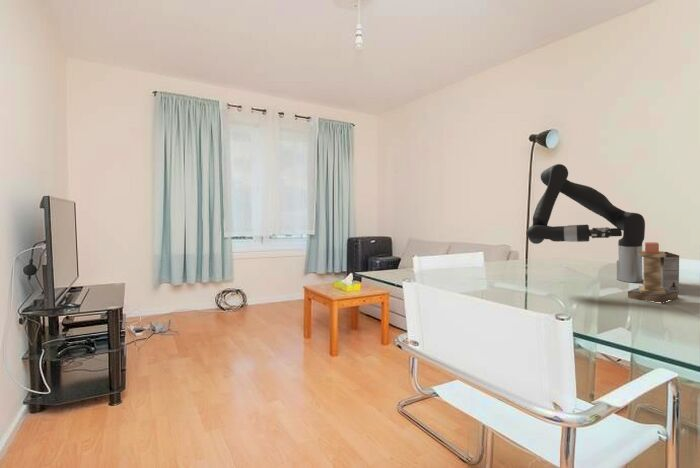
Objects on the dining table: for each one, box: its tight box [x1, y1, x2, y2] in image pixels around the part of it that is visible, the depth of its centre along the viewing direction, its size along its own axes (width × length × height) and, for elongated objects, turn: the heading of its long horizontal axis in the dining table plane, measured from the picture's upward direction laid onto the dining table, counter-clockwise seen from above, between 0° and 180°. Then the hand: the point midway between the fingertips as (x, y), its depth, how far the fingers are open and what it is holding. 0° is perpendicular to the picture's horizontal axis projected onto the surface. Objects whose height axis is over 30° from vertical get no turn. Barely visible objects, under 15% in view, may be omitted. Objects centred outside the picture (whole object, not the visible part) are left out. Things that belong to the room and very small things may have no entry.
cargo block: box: [644, 241, 660, 254], centre depth 149 cm, size 4×4×4 cm
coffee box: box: [660, 251, 680, 293], centre depth 160 cm, size 9×6×16 cm
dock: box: [627, 287, 679, 303], centre depth 151 cm, size 12×12×3 cm
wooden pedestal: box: [638, 250, 666, 294], centre depth 150 cm, size 8×8×16 cm
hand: (621, 232), depth 154 cm, fingers open, 8 cm apart
